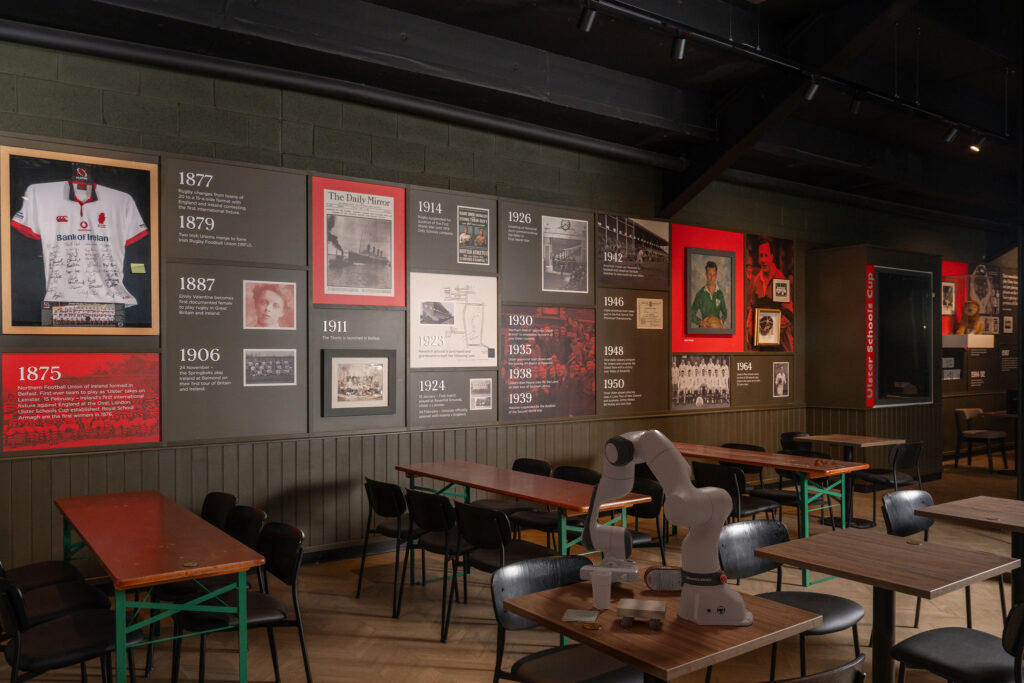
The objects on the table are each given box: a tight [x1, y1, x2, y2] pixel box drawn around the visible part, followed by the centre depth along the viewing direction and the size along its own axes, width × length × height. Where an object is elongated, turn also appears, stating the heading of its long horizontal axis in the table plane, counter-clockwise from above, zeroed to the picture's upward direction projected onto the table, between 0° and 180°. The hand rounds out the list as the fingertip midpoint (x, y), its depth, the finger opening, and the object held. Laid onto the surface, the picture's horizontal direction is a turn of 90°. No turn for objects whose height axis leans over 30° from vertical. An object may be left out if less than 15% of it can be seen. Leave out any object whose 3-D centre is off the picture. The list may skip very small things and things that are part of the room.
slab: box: [616, 597, 668, 631], centre depth 226 cm, size 14×12×5 cm
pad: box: [561, 608, 600, 624], centre depth 231 cm, size 10×10×1 cm
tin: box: [643, 565, 682, 592], centre depth 259 cm, size 15×3×8 cm, turn 84°
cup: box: [590, 571, 612, 610], centre depth 241 cm, size 7×7×11 cm
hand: (606, 579), depth 252 cm, fingers open, 8 cm apart
